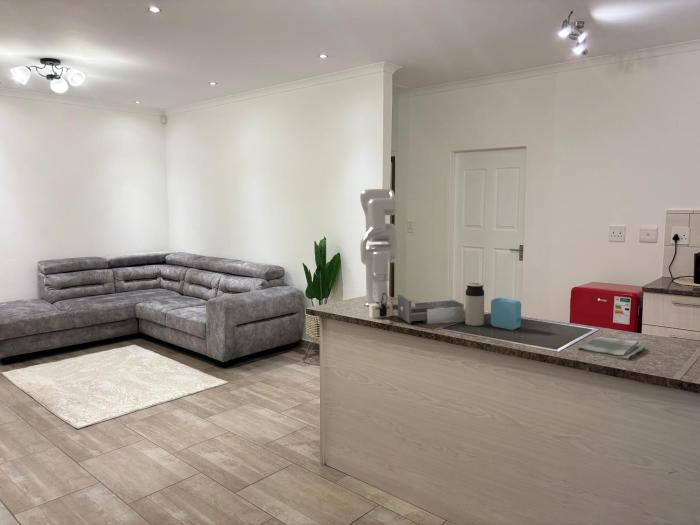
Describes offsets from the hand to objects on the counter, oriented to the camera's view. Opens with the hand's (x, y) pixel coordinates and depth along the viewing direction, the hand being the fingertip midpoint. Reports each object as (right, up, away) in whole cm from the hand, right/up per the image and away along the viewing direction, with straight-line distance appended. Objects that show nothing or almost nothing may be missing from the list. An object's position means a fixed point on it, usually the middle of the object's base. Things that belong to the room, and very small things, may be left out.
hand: (380, 314), depth 254 cm
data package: (+52, -4, -24) cm, 58 cm away
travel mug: (+40, -3, -18) cm, 44 cm away
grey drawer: (+17, -1, -9) cm, 20 cm away
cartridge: (0, -1, 0) cm, 1 cm away
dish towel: (+81, -8, -59) cm, 100 cm away
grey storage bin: (+26, -1, -7) cm, 27 cm away
